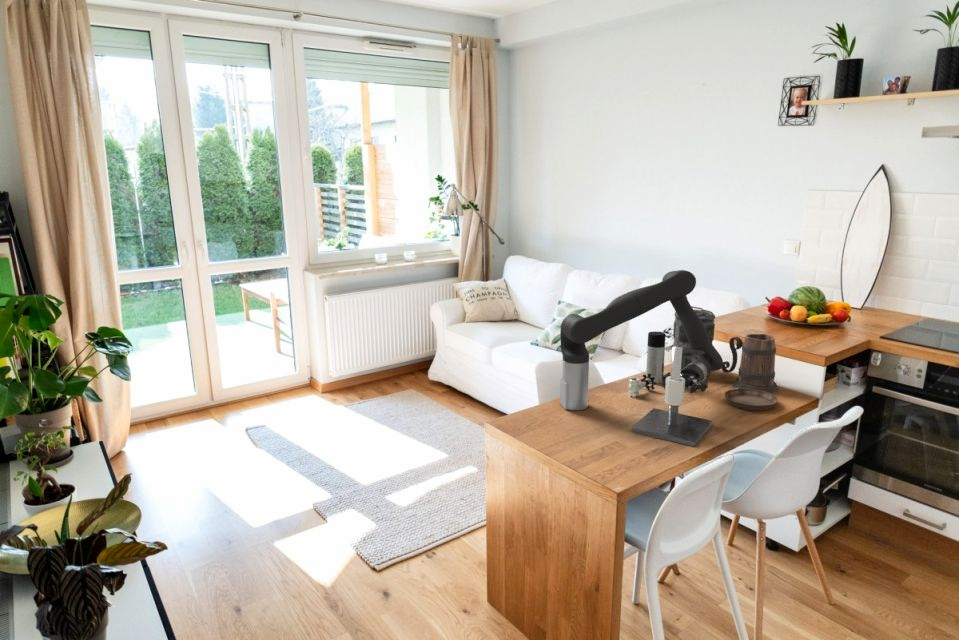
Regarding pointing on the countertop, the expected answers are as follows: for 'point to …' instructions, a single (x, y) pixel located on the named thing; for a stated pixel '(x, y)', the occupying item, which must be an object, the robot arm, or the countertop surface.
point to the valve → (640, 385)
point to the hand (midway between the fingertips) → (677, 388)
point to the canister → (681, 337)
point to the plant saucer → (751, 399)
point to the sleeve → (674, 391)
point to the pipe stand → (673, 416)
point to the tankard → (754, 362)
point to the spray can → (655, 356)
